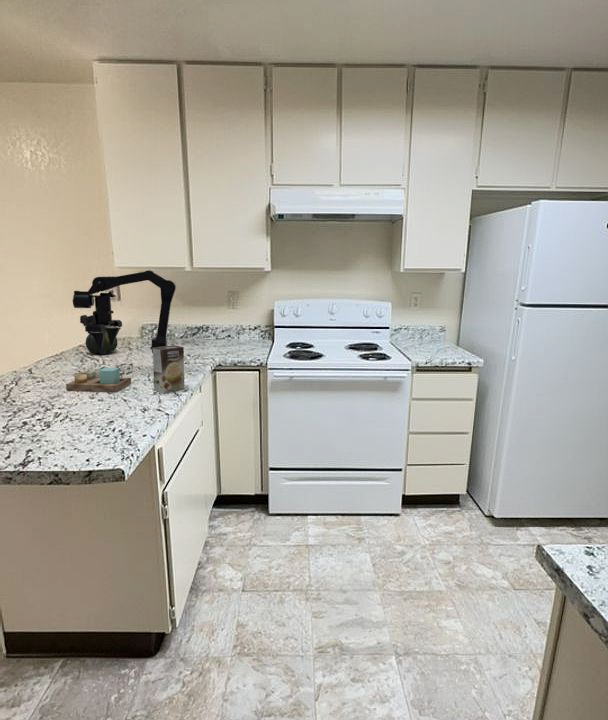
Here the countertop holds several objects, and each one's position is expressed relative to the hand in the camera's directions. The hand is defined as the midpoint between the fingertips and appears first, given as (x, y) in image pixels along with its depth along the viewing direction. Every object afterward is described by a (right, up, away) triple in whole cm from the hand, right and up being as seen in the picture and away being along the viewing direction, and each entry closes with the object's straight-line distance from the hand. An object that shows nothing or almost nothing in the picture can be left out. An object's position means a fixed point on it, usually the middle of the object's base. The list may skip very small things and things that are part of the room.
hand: (106, 346), depth 166 cm
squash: (-24, -2, +46) cm, 52 cm away
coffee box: (+31, -17, -16) cm, 39 cm away
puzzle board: (+5, -16, -15) cm, 22 cm away
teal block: (+9, -15, -15) cm, 23 cm away
